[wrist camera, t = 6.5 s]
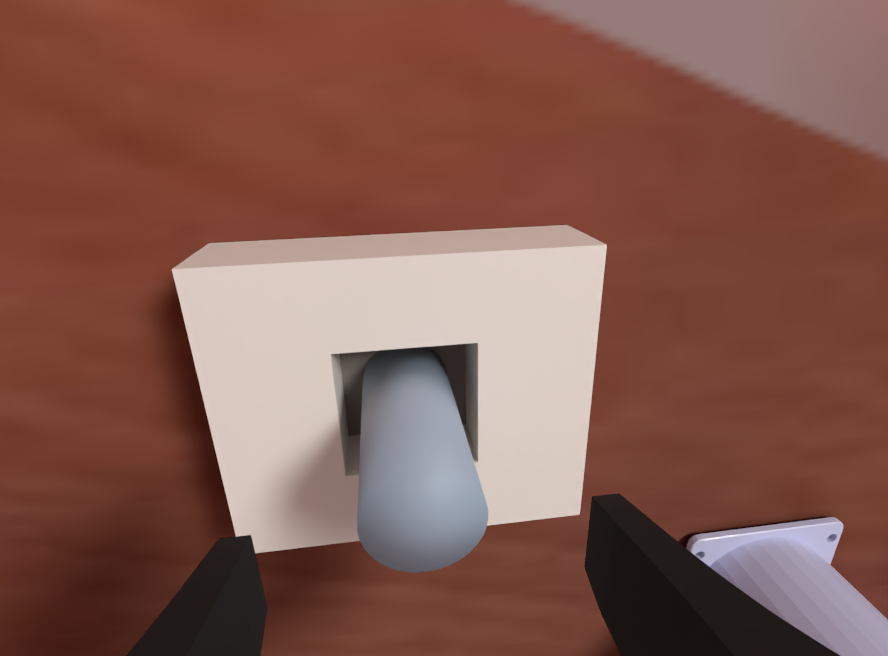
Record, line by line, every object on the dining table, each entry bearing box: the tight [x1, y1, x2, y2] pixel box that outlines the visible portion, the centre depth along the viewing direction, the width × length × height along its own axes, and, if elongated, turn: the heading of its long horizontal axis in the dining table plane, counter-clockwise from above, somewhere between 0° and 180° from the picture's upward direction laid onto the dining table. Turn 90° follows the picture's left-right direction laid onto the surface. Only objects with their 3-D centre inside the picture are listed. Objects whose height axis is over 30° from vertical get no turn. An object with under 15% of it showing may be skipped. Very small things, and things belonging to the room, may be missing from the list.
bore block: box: [172, 225, 607, 553], centre depth 17 cm, size 10×12×3 cm
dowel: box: [357, 347, 488, 572], centre depth 14 cm, size 3×3×7 cm
